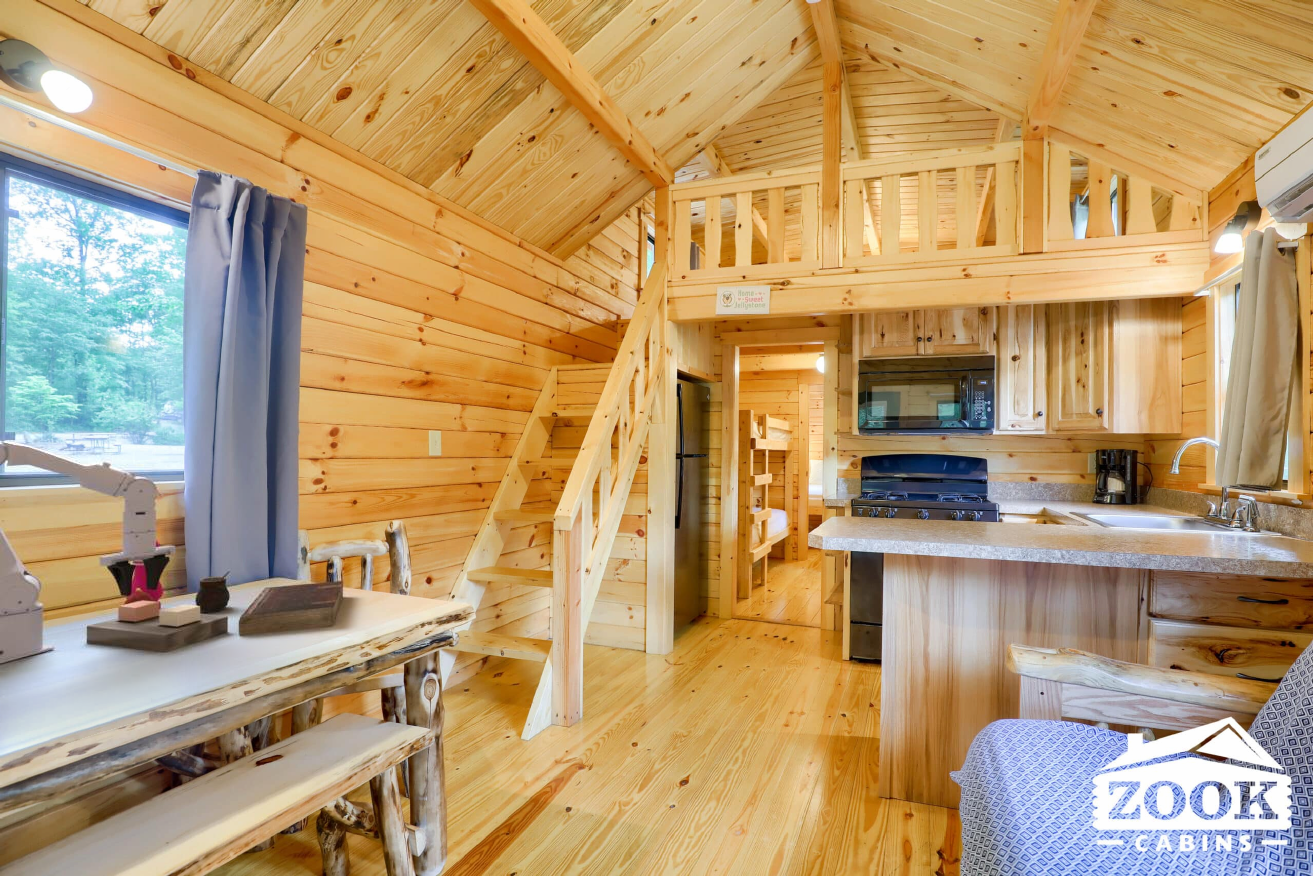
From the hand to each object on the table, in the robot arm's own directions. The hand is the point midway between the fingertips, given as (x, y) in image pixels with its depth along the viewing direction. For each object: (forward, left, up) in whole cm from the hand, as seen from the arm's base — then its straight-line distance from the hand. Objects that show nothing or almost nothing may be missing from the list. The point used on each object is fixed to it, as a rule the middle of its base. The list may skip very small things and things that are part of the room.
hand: (139, 592), depth 139 cm
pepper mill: (+14, +18, -10) cm, 25 cm away
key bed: (0, -6, -9) cm, 11 cm away
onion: (+7, +10, -10) cm, 16 cm away
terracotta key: (0, 0, -6) cm, 6 cm away
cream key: (0, -12, -6) cm, 13 cm away
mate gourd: (+20, +3, -10) cm, 22 cm away
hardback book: (+23, -20, -10) cm, 32 cm away
